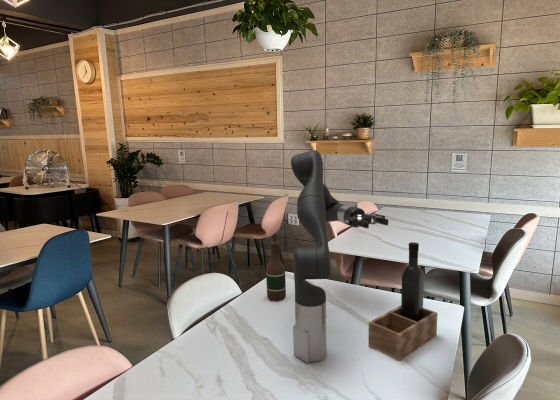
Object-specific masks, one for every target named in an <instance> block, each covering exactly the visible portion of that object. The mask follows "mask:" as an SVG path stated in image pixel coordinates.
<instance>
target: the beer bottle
mask: <svg viewBox="0 0 560 400" xmlns="http://www.w3.org/2000/svg"><path fill="white" fill-rule="evenodd" d="M269 245H270V257H269V262H268V263H267V265H266V268H265V269H266V271H265V275H266V277H265V278H266V280H265V281H266V283H265V284H266V297H267V299H268V300H269V301H270V302H275V303H276V302H282V301H284V300H285V298H286V297H287V286H286V284H287V283H286V281H287V280H286V267H285V265H284V263H283V261H282V260H281V255H280V242H279V241H278V240H271V241H270V243H269Z"/></svg>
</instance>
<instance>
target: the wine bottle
mask: <svg viewBox="0 0 560 400" xmlns="http://www.w3.org/2000/svg"><path fill="white" fill-rule="evenodd" d="M419 246H420V245H419V243H418V242H408V265H406V266H405V267H404V269H403V271H402V274H401V293H400V294H401V296H400V297H401V299H400V302H401V303H400V306H401V316H403V317H406V318H409V319H411V320H414V321H416V322H418V321H420V320H422V319H423V308H424V290H425V289H424V287H425V286H424V285H425V284H424V283H425V274H424V271H423V269H422V268H421V267H420V266H419V265H418V264H419V252H420V251H419Z"/></svg>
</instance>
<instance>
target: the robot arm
mask: <svg viewBox="0 0 560 400" xmlns="http://www.w3.org/2000/svg"><path fill="white" fill-rule="evenodd" d="M290 166H291V170H292V173H293V175H294V176H295V178H296V180H297V181H299V183H300V184H301V185H302V186H303V188H302V190H301V192H300V193H299V195H298V197H297V201H296V209H297V212H296V215H297V219H298V222H299V223H300V224H301V226H302V227H303V229H305V230H306V232H307V233H308V234H309V235H310V236H311V238H312V239H313V242H315V244H316V245H315V247H309V246H308V247H297V248H295V249H294V251H293V254H292V266H293V269H292V270H293V280H294V308H295V309H294V314H295V315H294V316H295V317H294V319H295V321H294V322H295V324H294V325H293V326H292V336H293V340H292V341H293V356H295V357H297V358H298V359H299V360H301V361H303V362H305V363H306V364H309V363H316V362H319V361H323V360H324V359H325V358H326V357H327V355H328V354H327V353H328V351H327V349H328V348H327V347H328V345H327V293H326V291H325V289H323V288H322V287H320V286H318V285H315V284H313V283H310V282H309V281H308V280H326V279H328V278H329V277H330V276H331V271H332V265H331V264H332V263H331V255H330V248H329V239H328V235H327V234H328V233H327V222H328V223H330V222H331V223H332V222H340V223H342V224H344V225H347V226H349V227H353V228H364V229H369V226H370V225H376V224H380V225H382V226H388V225H389V219H388V218H386V216H385V215H383V214H378V213H372V214H369V213H366V212H365V210H364V209H363V208H360V207H356V206H352V205H346V204H342V203H340V201H339V200H338V199H337V198H336V197H334V196H333V195H332V194H331V192H330V189H329V188H328V187H327V185H326V184H324V162H323V157H322V154H321V153H320V151H318V150H316V149H314V150H308V151H305V152H302V153H301V152H300V153H298V154H295V155H293V156H292V157H291V159H290Z"/></svg>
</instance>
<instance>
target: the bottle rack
mask: <svg viewBox="0 0 560 400" xmlns="http://www.w3.org/2000/svg"><path fill="white" fill-rule="evenodd" d="M437 331H438V312H436V311H433V310H430V309H428V308H426V307H423V319H422V320H420V321H418V322H416V321H414V320H411V319H409V318H406V317H403V316H401V305H399V306H397V307H395V308H393V309H391V310H389V311H388V312H385V313H384V314H382V315H379V316H378V317H376V318H374V319H372V320H370V321H368V347H369V348H372V349H374V350H375V351H378V352H380V353H382V354H384V355H386V356H387V357H390V358H392V359H394V360H396V361H399V362H400V361H402V360H403V359H405V358H406V357H408V356H410V354H412V353H413V352H415V351H417V350H418V349H420V348H421V347H422V346H424V345H426V344H427V343H429V342H430V341H431V340H433V339H434V338H437V334H438V333H437Z"/></svg>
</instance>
